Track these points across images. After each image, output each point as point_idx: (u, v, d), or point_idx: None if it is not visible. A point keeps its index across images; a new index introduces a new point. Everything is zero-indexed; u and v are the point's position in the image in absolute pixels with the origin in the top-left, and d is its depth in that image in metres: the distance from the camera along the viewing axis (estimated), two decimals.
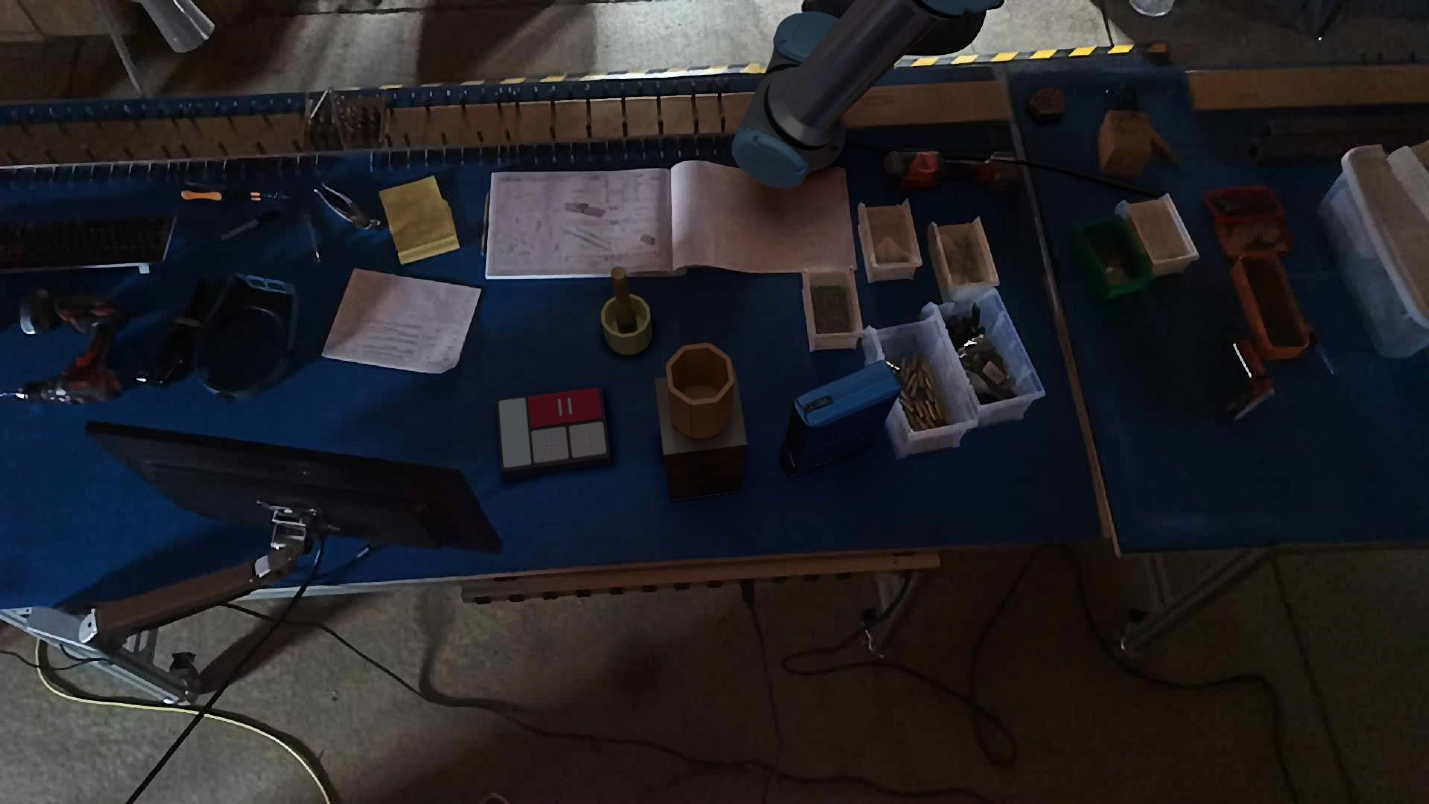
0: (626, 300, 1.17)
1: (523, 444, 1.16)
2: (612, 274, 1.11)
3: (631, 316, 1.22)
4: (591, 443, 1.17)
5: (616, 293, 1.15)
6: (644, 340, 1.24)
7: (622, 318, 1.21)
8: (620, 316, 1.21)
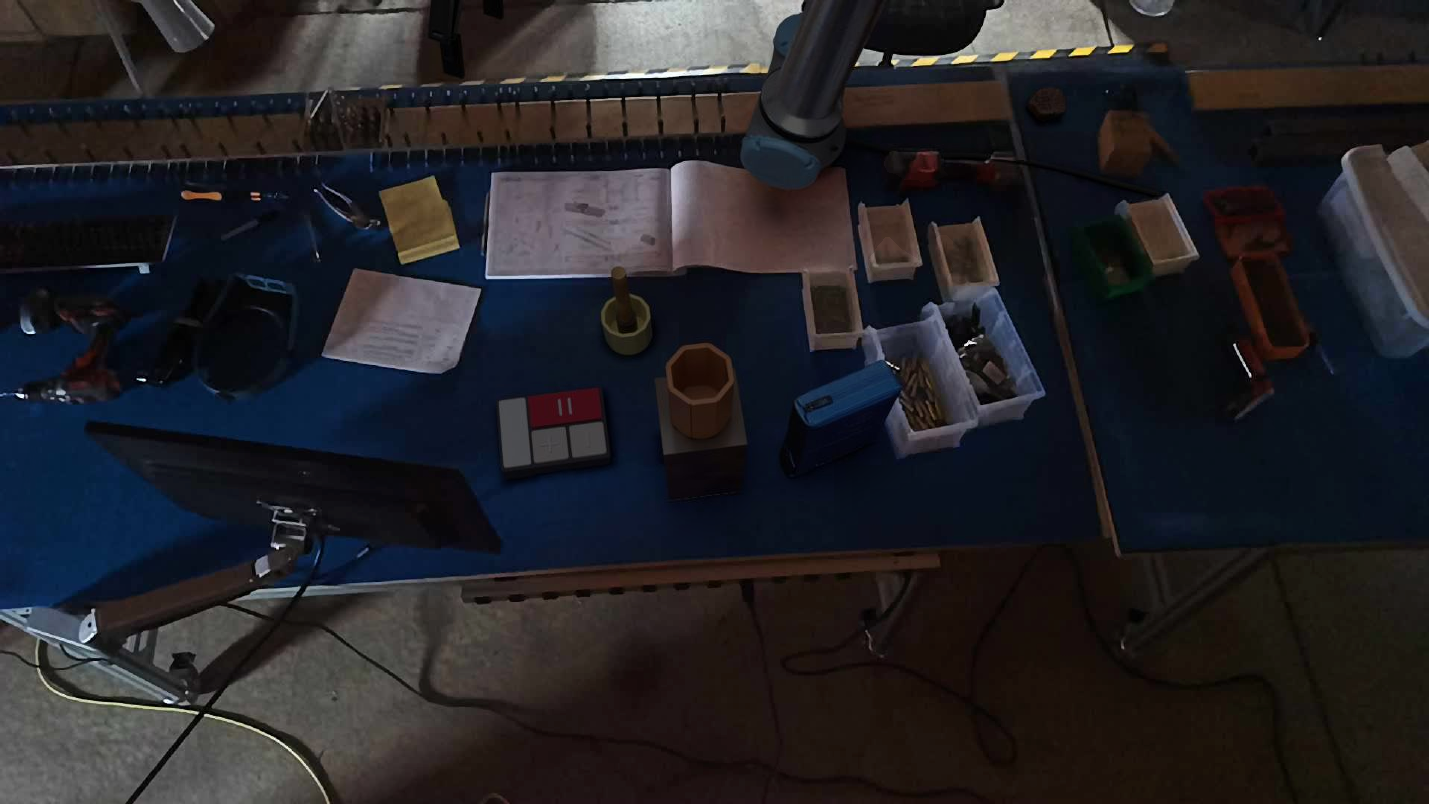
0: (626, 300, 1.17)
1: (523, 444, 1.16)
2: (612, 274, 1.11)
3: (631, 316, 1.22)
4: (591, 443, 1.17)
5: (616, 293, 1.15)
6: (644, 340, 1.24)
7: (622, 318, 1.21)
8: (620, 316, 1.21)
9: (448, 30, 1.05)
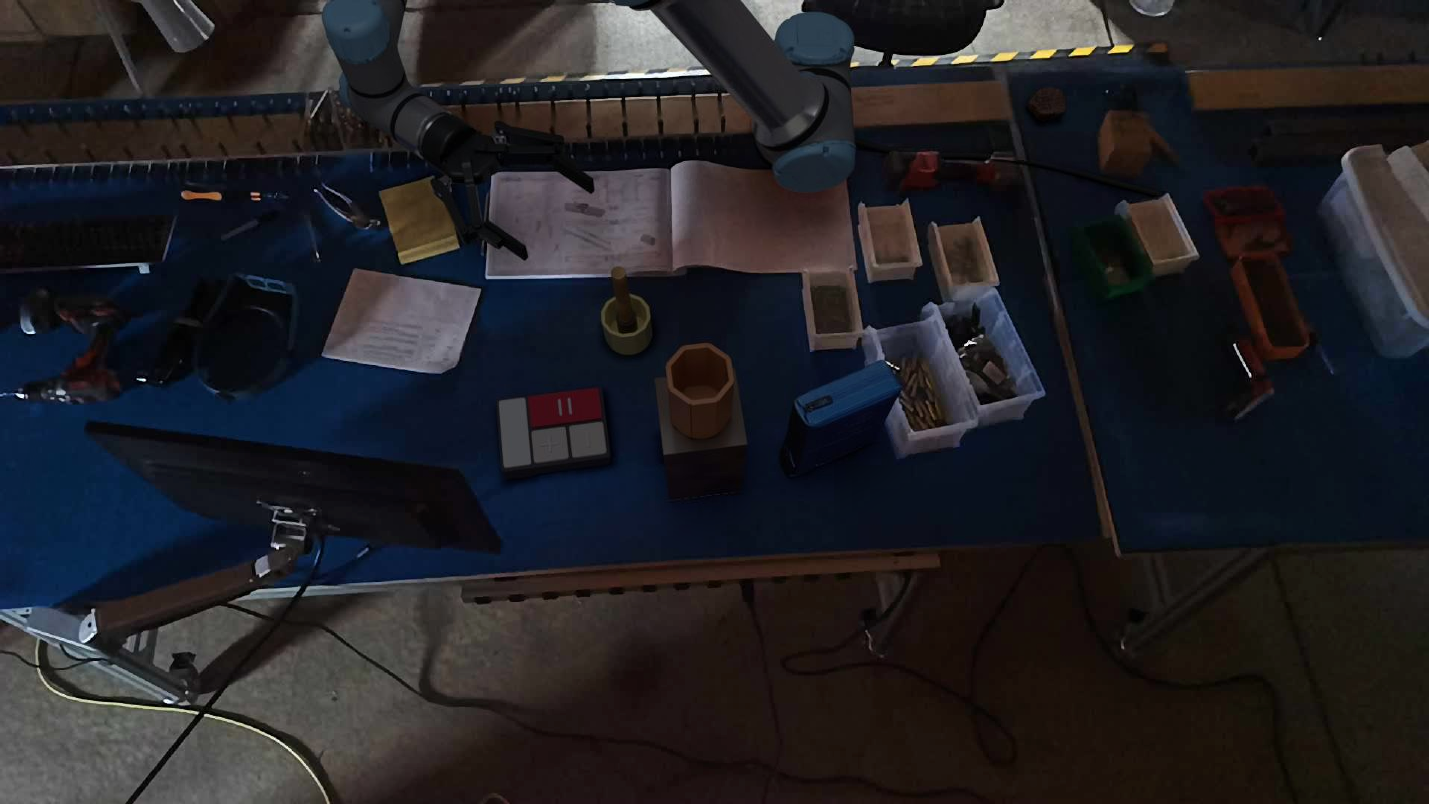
0: (626, 300, 1.17)
1: (523, 444, 1.16)
2: (612, 274, 1.11)
3: (631, 316, 1.22)
4: (591, 443, 1.17)
5: (616, 293, 1.15)
6: (644, 340, 1.24)
7: (622, 318, 1.21)
8: (620, 316, 1.21)
9: (458, 224, 1.09)
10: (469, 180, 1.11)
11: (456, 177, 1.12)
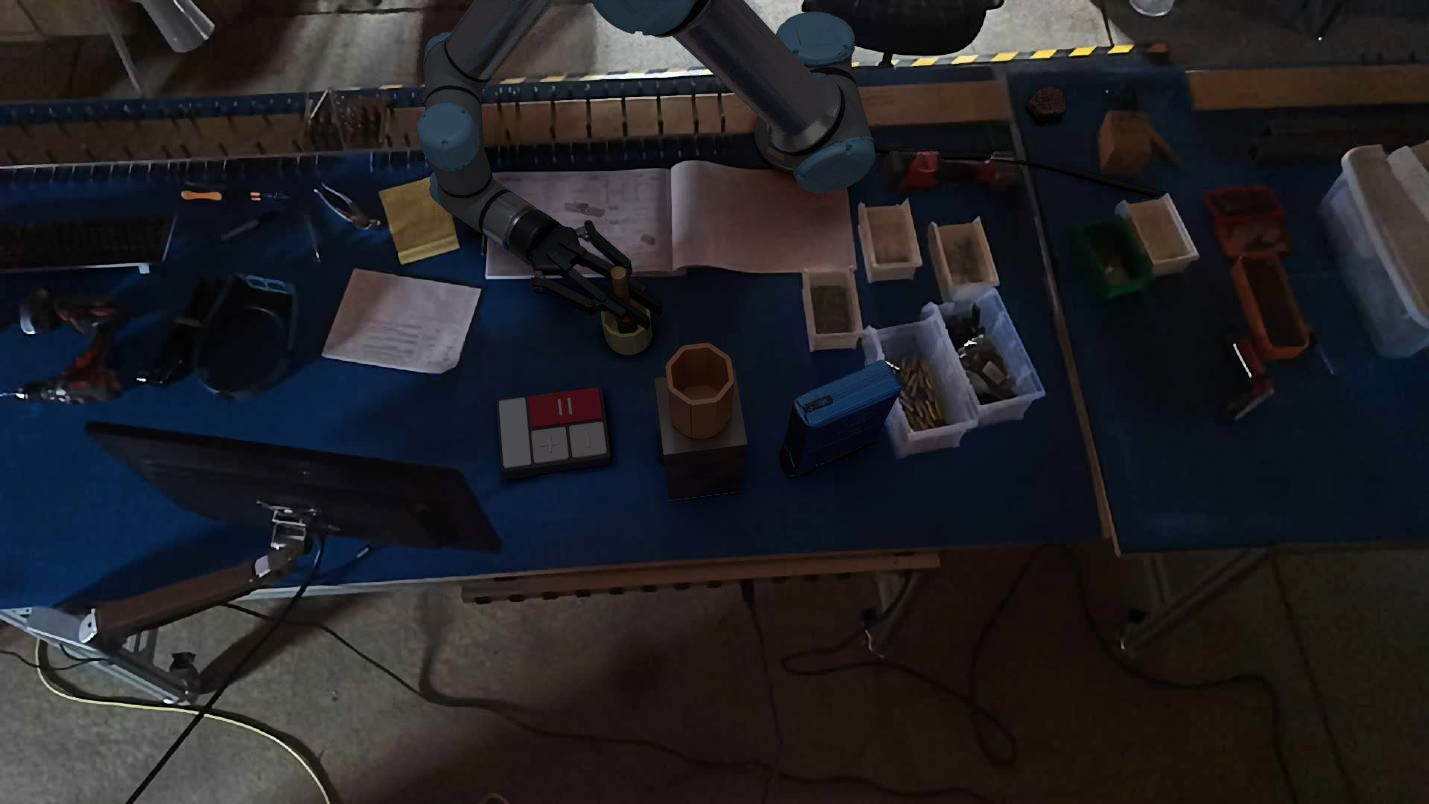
0: (626, 300, 1.17)
1: (523, 444, 1.16)
2: (612, 274, 1.11)
3: None
4: (591, 443, 1.17)
5: (616, 293, 1.15)
6: (644, 340, 1.24)
7: None
8: None
9: (581, 301, 1.15)
10: (568, 267, 1.17)
11: None
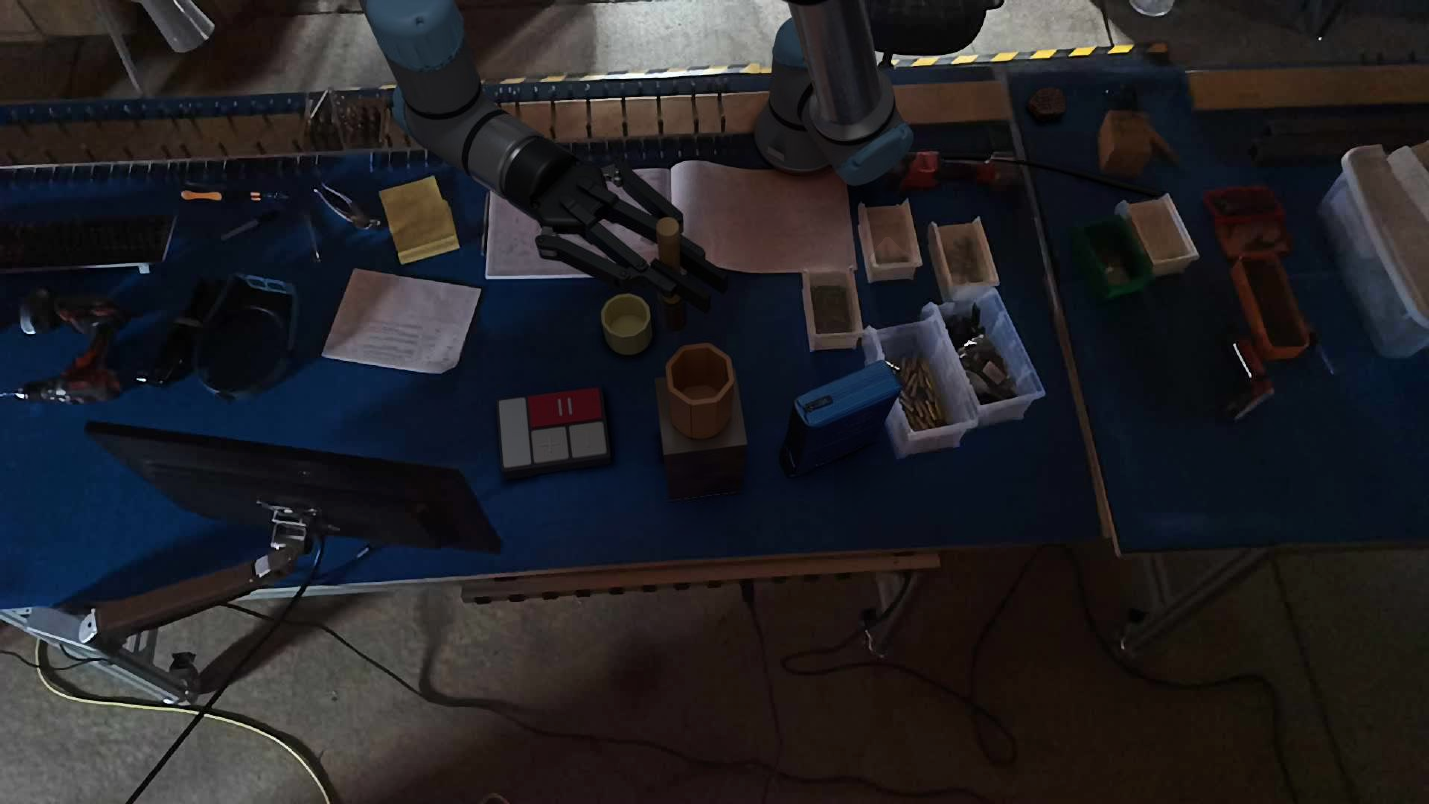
0: (675, 270, 0.80)
1: (523, 444, 1.16)
2: (658, 228, 0.74)
3: None
4: (591, 443, 1.17)
5: (662, 259, 0.78)
6: (644, 340, 1.24)
7: None
8: None
9: (611, 270, 0.78)
10: (591, 220, 0.80)
11: None
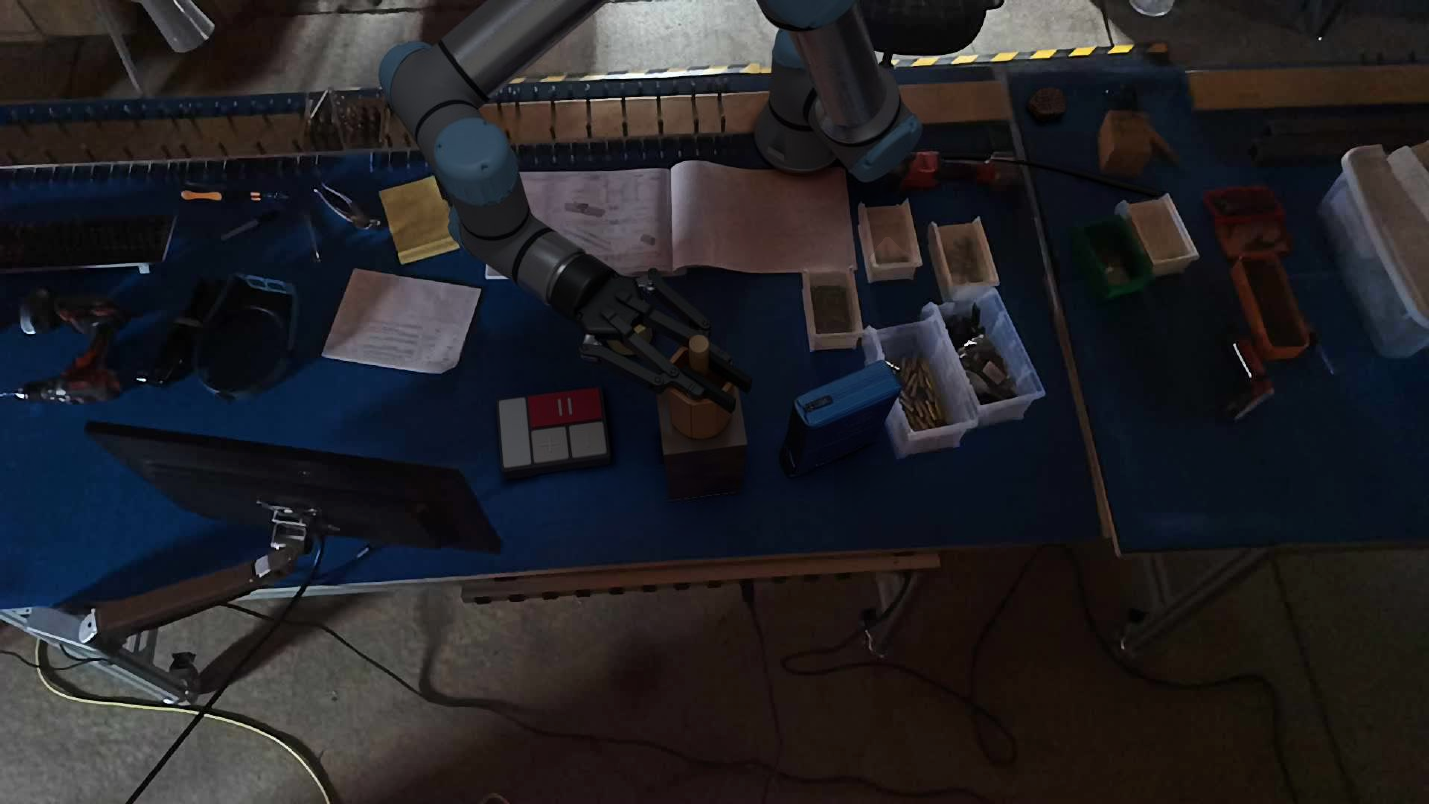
0: (704, 376, 0.90)
1: (523, 444, 1.16)
2: (691, 346, 0.85)
3: None
4: (591, 443, 1.17)
5: (693, 367, 0.88)
6: None
7: None
8: None
9: (647, 377, 0.88)
10: (628, 330, 0.90)
11: None
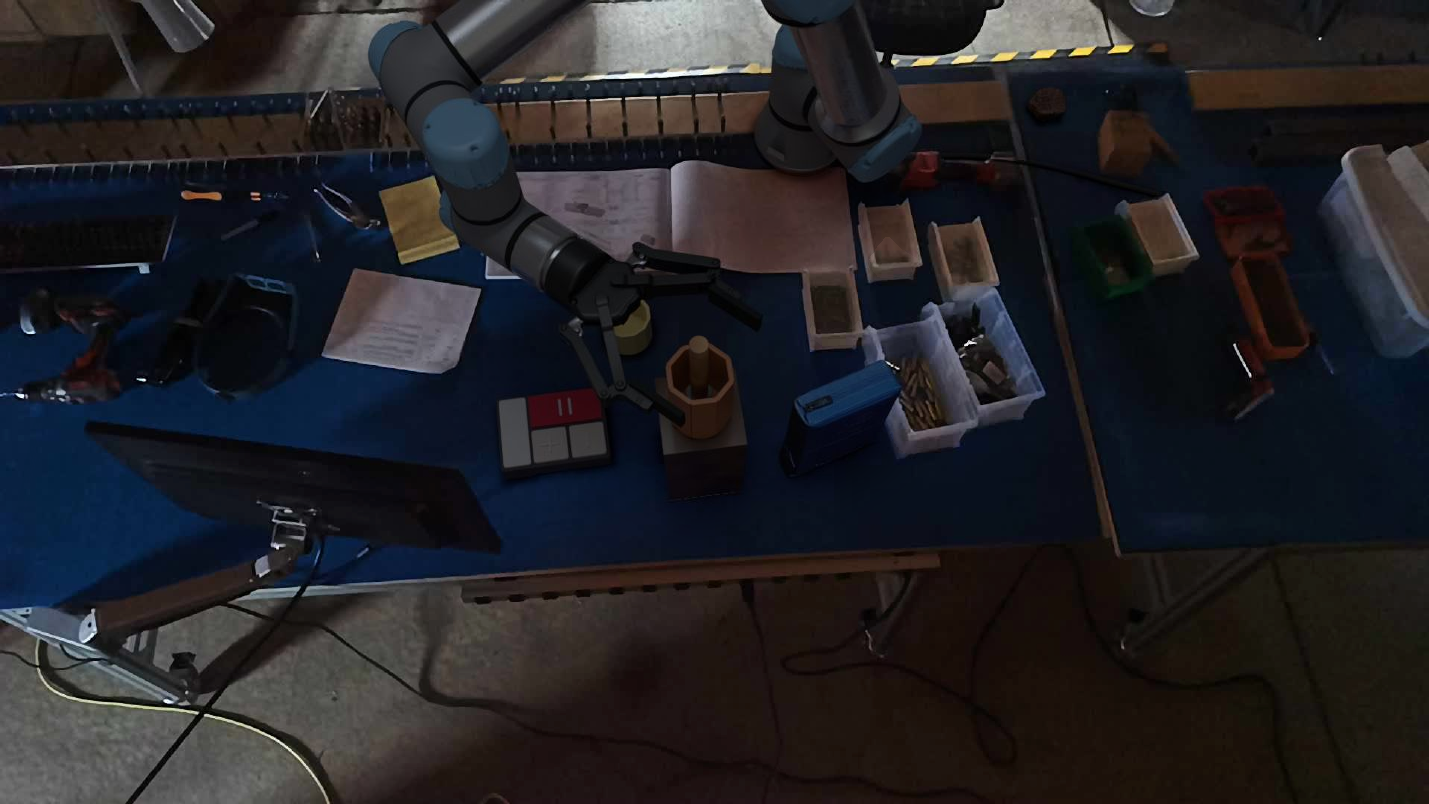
0: (704, 376, 0.90)
1: (523, 444, 1.16)
2: (691, 346, 0.85)
3: (707, 392, 0.95)
4: (591, 443, 1.17)
5: (693, 368, 0.88)
6: (644, 340, 1.24)
7: (695, 395, 0.95)
8: (693, 393, 0.94)
9: (596, 385, 0.85)
10: (607, 325, 0.87)
11: (590, 320, 0.89)
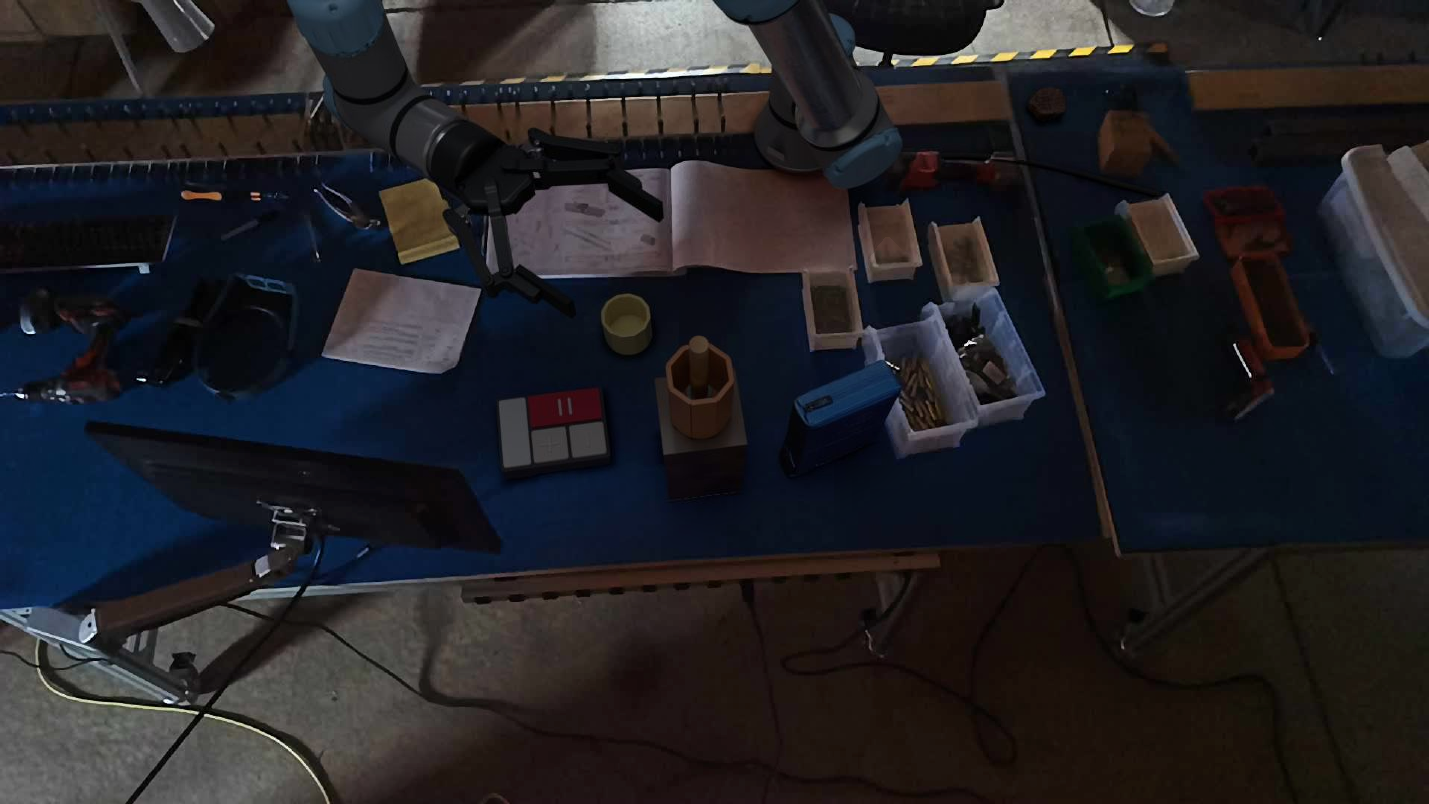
0: (704, 376, 0.90)
1: (523, 444, 1.16)
2: (691, 346, 0.85)
3: (707, 392, 0.95)
4: (591, 443, 1.17)
5: (693, 368, 0.88)
6: (644, 340, 1.24)
7: (695, 395, 0.95)
8: (693, 393, 0.94)
9: (480, 271, 0.79)
10: (495, 210, 0.81)
11: (477, 207, 0.83)
